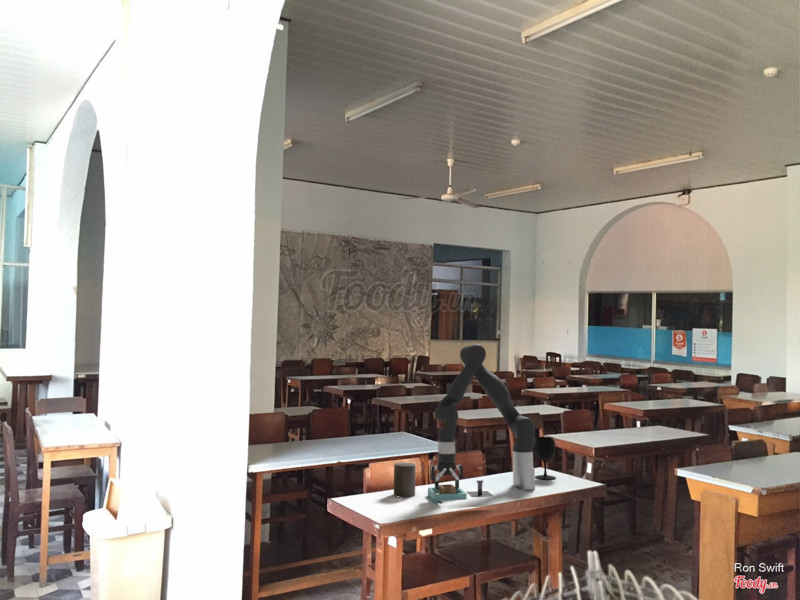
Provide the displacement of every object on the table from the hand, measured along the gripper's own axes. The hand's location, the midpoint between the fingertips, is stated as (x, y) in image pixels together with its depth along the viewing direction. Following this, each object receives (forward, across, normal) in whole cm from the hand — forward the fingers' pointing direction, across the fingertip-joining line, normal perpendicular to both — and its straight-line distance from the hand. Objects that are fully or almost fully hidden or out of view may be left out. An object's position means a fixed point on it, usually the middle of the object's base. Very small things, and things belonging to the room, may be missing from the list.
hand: (446, 489), depth 279 cm
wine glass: (+4, -59, -34) cm, 68 cm away
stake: (+4, -15, 0) cm, 16 cm away
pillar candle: (+4, +17, -10) cm, 20 cm away
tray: (+4, 0, 0) cm, 4 cm away
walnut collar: (+3, 0, 0) cm, 3 cm away
